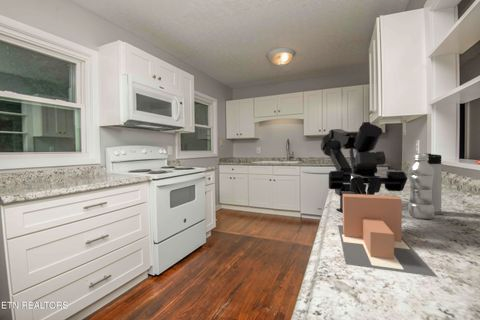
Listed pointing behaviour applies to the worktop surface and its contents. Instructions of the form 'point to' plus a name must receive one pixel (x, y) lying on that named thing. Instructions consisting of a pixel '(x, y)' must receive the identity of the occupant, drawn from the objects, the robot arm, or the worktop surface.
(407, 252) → the mat
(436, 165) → the travel mug
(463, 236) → the worktop surface
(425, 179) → the plastic bottle
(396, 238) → the t block
